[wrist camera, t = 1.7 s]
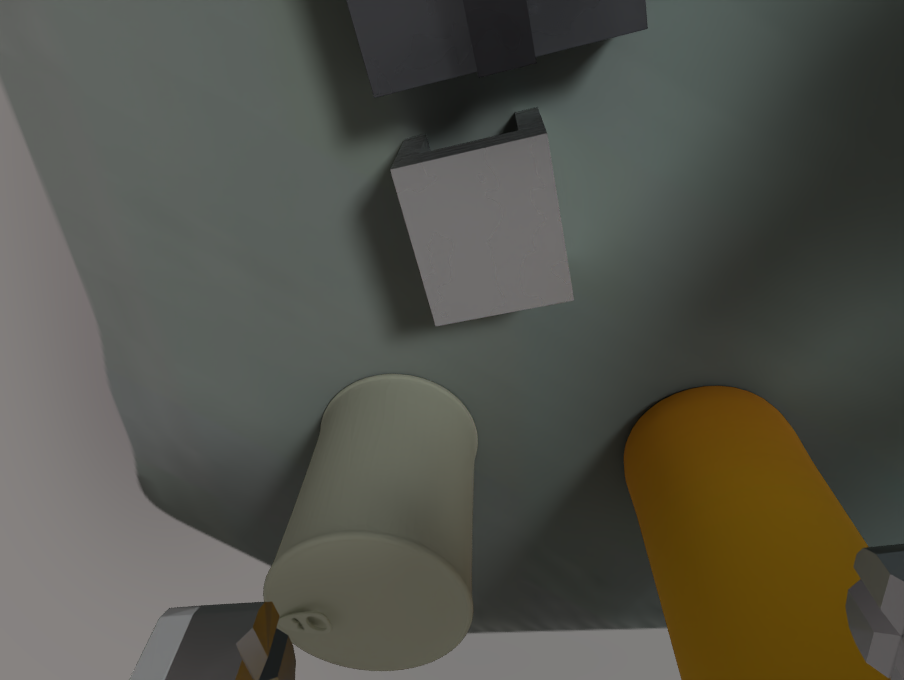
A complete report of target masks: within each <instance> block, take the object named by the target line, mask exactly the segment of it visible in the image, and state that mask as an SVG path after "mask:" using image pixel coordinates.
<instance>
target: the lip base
mask: <svg viewBox="0 0 904 680" xmlns="http://www.w3.org/2000/svg"><path fill="white" fill-rule="evenodd" d="M346 1H347V4H348V8H349V11H350V15H351V18H352V22H353V25H354V29H355V32H356V35H357V39H358V42H359V46H360V49H361V53H362V56H363V60H364V63H365V67H366V70H367V74H368V77H369V81H370V84H371V88H372V91H373V95H374V98H375V97H379V96H383V95H387V94H391V93H395V92H399V91H403V90H407V89H411V88H415V87H419V86H423V85H427V84H431V83H435V82H439V81H443V80H447V79H451V78H455V77H459V76H463V75H467V74H470V73H474V72H478V77H479V78H480V77H484V76H488V75H491V74H495V73H499V72H503V71H507V70H511V69H515V68H519V67H523V66H527V65H531V64H535V63H536V57H538V56H542V55H546V54H550V53H554V52H558V51H562V50H566V49H569V48H573V47H577V46H581V45H585V44H589V43H593V42H597V41H601V40H605V39H609V38H613V37H617V36H621V35H625V34H629V33H633V32H637V31H641V30H645V29H648V27H647V15H646V2H645V0H346Z"/></svg>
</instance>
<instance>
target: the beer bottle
mask: <svg viewBox="0 0 904 680" xmlns="http://www.w3.org/2000/svg"><path fill="white" fill-rule="evenodd" d="M624 472H625V479H626V483H627V487H628V490H629V493H630V496H631V499H632V502H633V505H634V508H635V511H636V515H637V518H638V522H639V525H640V529H641V533H642V536H643V540H644V544H645V547H646V551H647V555H648V558H649V562H650V566H651V569H652V573H653V577H654V580H655V584H656V588H657V591H658V595H659V599H660V602H661V606H662V610H663V613H664V617H665V621H666V624H667V628H668V632H669V635H670V639H671V643H672V646H673V650H674V654H675V657H676V661H677V665H678V668H679V672H680V676H681V679H682V680H888V678H887V677H886V676H884V675H883V674H882V673H880V672H879V671H877V670H876V669H875V668H873V667H872V666H870V665H869V664H867V663H866V661H865V660H864V658H863V656H862V654H861V653H860V651H859V649H858V647H857V645H856V643H855V641H854V638H853V636H852V633H851V631H850V628H849V624H848V619H847V613H846V607H845V606H846V600H847V594H848V589H849V588H851V587H852V586H853V585H854V584H855V583H856V582H858V581H859V580H860V579H861V578H860V577H859V575H858V574H857V572H856V570H855V569H854V567H853V566H854V562H855V558H856V554H857V553H858V552H859V551H860V550H861V549H862V548H866V547H868V545H867V544H866V542H865V541H864V539H863V538H862V536H861V535H860V533H859V532H858V530H857V529H856V527H855V526H854V524H853V523H852V521H851V519H850V518H849V516H848V515H847V513H846V512H845V510H844V509H843V507H842V506H841V504H840V503H839V501H838V500H837V498H836V497H835V495H834V494H833V492H832V490H831V489H830V487H829V486H828V484H827V483H826V481H825V480H824V478H823V477H822V475H821V474H820V472H819V471H818V469H817V468H816V466H815V464H814V463H813V461H812V460H811V458H810V456H809V455H808V453H807V451H806V450H805V448H804V446H803V444H802V443H801V441H800V439H799V437H798V436H797V434H796V433H795V431H794V429H793V428H792V427H791V425H790V424H789V423H788V422H787V420H786V419H785V418H784V417H783V415H782V414H781V413H780V412H779V411H778V410H777V409H776V408H775V407H773V406H772V405H771V404H770V403H768V402H767V401H766V400H765V399H763V398H761V397H759V396H757V395H755V394H753V393H751V392H749V391H746V390H742V389H738V388H735V387H727V386H703V387H697V388H692V389H688V390H685V391H682V392H679V393H676V394H673V395H671V396H669V397H667V398H665V399H663V400H661V401H660V402H658V403H657V404H656V405H654V406H653V407H651V408H650V409H649V410H648V411H647V412H646V413H645V414H644V415H643V416H642V417H641V418H640V419H639V420H638V421H637V423H636V424H635V426H634V427H633V428H632V430H631V432H630V435H629V437H628V439H627V442H626V445H625V451H624Z"/></svg>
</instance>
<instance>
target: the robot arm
mask: <svg viewBox="0 0 904 680" xmlns="http://www.w3.org/2000/svg"><path fill="white" fill-rule="evenodd" d="M853 567H854V569H855V570H856V572H857V574H858V575H859V577H860V578H861V579H860V580H859V581H858V582H856V583H855V584H854V585H853V586H852V587H851V588H849V589H848V594H847V600H846V606H845V607H846V613H847V619H848V624H849V628H850V631H851V633H852V636H853V638H854V641H855V643H856V645H857V647H858V649H859V651H860V653H861V654H862V656H863V658H864V660H865V661H866V663H867V664H869V665H870V666H872V667H873V668H875V669H876V670H877V671H879V672H880V673H882V674H883V675H884V676H886V677H887V678H888V680H904V544H895V545H886V546H876V547H866V548H862V549H861V550H860V551H859V552H858V553H857V554H856V558H855V562H854V566H853ZM279 617H280V616H279V614H278V612H277V610H276V608H275V606H274V604H273V602H254V603H237V604H220V605H204V606H191V607H177V608H169V609H168V610H167V611H166V612H165V613H164V614H163V615H162V616H161V617H160V618H159V620H158V622H157V624H156V626H155V628H154V630H153V632H152V634H151V636H150V638H149V640H148V642H147V644H146V647H145V648H144V650H143V652H142V654H141V657H140V659H139V661H138V663H137V665H136V667H135V669H134V671H133V673H132V675H131V677H130V679H129V680H295V667H296V660H295V654H294V648H293V645H292V642H291V640H290V638H289V635H287V634H285V633H284V632H282V631H281V630H279V629H277V628H276V627H277V624H278V620H279Z"/></svg>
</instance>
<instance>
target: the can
mask: <svg viewBox="0 0 904 680" xmlns="http://www.w3.org/2000/svg"><path fill="white" fill-rule="evenodd" d="M477 447H478V435H477V430H476V426H475V423H474V421H473V418H472V416H471V415H470V413H469V411H468V410H467V408H466V407H465V406H464V405H463V403H462V402H461V401H460V400H459V399H458V398H457V397H456V396H455V395H453V394H452V393H451V392H450V391H448V390H447V389H445V388H443V387H442V386H440V385H438V384H436V383H434V382H432V381H429V380H426V379H423V378H420V377H416V376H411V375H404V374H381V375H375V376H371V377H367V378H364V379H361V380H358V381H356V382H354V383H352V384H350V385H349V386H347V387H346V388H344V389H343V390H341V391H340V392H339V393H338V394H337V395H336V396H335V397H334V398H333V399H332V401H331V402H330V403H329V405H328V406H327V408H326V410H325V412H324V414H323V418H322V422H321V428H320V434H319V438H318V441H317V444H316V447H315V450H314V453H313V455H312V458H311V461H310V464H309V467H308V470H307V473H306V476H305V478H304V481H303V484H302V487H301V490H300V492H299V495H298V498H297V501H296V504H295V506H294V509H293V512H292V515H291V517H290V520H289V523H288V525H287V528H286V531H285V533H284V536H283V539H282V541H281V544H280V547H279V549H278V552H277V555H276V557H275V560H274V562H273V565H272V566H271V568H270V570H269V572H268V574H267V576H266V579H265V583H264V591H263V596H264V602H273V604H274V606H275V608H276V610H277V612H278V614H279V616H280V617H279V620H278V624H277V627H276V628H277V629H279V630H281V631H282V632H284V633H285V634H287V635H289V638H290V640H291V642H292V643H293V644H294V645H296V646H297V647H299V648H300V649H302V650H303V651H305V652H307V653H309V654H311V655H313V656H315V657H317V658H320V659H322V660H324V661H327V662H330V663H333V664H336V665H340V666H344V667H348V668H353V669H359V670H369V671H394V670H403V669H409V668H414V667H418V666H421V665H424V664H427V663H430V662H433V661H435V660H437V659H439V658H441V657H443V656H444V655H446V654H447V653H449V652H450V651H452V650H453V649H454V648H455V647H456V646H457V645H458V644H459V643H460V642H461V641H462V640H463V638H464V637H465V636H466V634H467V632H468V630H469V628H470V626H471V622H472V618H473V600H472V525H473V486H474V462H475V457H476V452H477Z"/></svg>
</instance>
